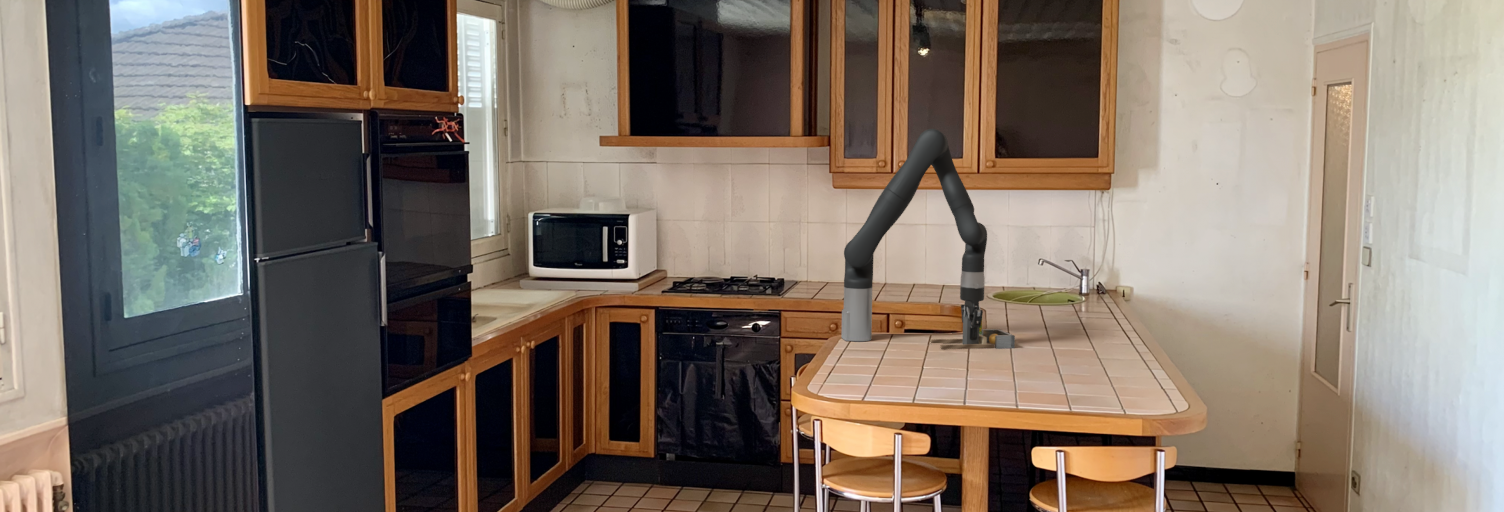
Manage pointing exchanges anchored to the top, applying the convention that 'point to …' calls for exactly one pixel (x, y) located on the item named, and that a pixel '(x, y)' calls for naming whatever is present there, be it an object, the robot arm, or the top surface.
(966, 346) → the lane
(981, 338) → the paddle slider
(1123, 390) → the top surface
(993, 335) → the ball
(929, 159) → the robot arm
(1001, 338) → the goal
